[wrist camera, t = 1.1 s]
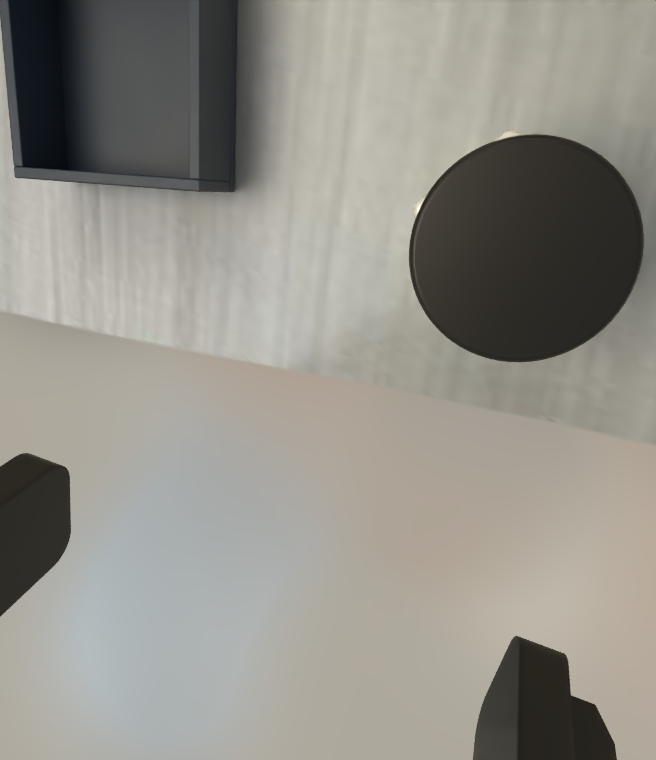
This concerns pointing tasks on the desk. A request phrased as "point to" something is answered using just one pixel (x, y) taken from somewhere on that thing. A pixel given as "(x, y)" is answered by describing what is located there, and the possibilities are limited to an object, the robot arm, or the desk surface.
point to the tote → (123, 91)
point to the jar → (526, 247)
